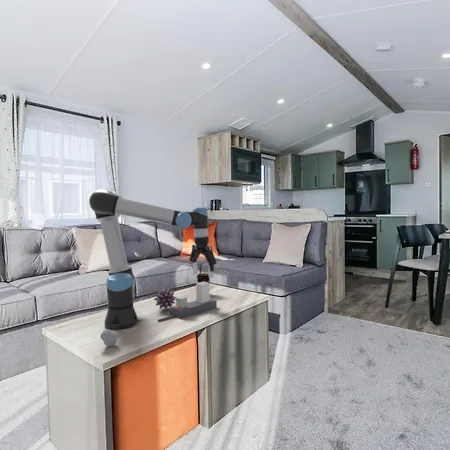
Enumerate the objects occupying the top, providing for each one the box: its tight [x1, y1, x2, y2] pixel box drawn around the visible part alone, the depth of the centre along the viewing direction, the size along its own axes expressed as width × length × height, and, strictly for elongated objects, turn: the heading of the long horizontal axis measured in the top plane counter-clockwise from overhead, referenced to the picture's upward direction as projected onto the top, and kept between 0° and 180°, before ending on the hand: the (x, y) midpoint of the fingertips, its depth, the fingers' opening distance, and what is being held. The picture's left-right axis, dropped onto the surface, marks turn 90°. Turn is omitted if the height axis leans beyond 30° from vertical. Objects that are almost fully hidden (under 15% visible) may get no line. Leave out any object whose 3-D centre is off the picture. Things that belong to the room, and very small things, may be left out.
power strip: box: [157, 298, 218, 323], centre depth 175 cm, size 34×8×5 cm, turn 132°
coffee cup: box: [196, 272, 211, 284], centre depth 210 cm, size 9×8×13 cm
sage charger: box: [175, 295, 188, 309], centre depth 172 cm, size 4×4×5 cm
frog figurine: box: [99, 328, 119, 348], centre depth 136 cm, size 6×7×7 cm
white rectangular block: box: [195, 282, 211, 303], centre depth 182 cm, size 5×5×11 cm
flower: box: [153, 287, 176, 311], centre depth 182 cm, size 12×12×12 cm
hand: (203, 275), depth 181 cm, fingers open, 13 cm apart
